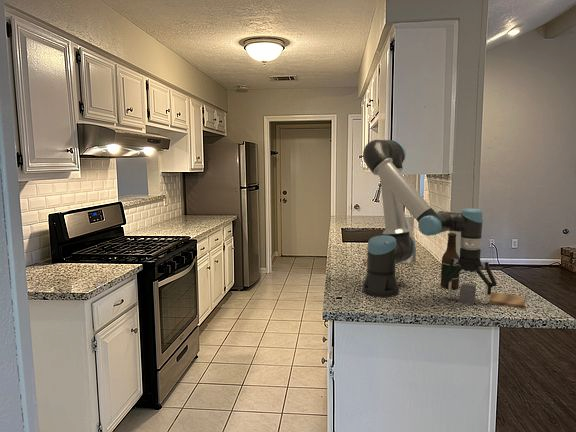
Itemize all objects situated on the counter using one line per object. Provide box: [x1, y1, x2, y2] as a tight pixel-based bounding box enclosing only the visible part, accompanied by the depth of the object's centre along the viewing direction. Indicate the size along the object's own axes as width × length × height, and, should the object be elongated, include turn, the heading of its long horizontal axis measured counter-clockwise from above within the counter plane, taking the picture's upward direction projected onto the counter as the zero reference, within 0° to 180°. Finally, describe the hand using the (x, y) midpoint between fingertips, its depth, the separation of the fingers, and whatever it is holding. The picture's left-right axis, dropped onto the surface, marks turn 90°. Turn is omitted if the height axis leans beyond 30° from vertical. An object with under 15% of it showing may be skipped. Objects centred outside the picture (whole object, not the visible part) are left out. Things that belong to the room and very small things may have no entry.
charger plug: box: [459, 282, 477, 306], centre depth 175 cm, size 5×10×6 cm, turn 152°
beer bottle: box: [440, 232, 460, 290], centre depth 191 cm, size 8×8×24 cm
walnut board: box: [488, 291, 525, 309], centre depth 173 cm, size 12×12×1 cm
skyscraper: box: [398, 211, 417, 265], centre depth 234 cm, size 8×8×28 cm
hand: (467, 299), depth 174 cm, fingers open, 13 cm apart
